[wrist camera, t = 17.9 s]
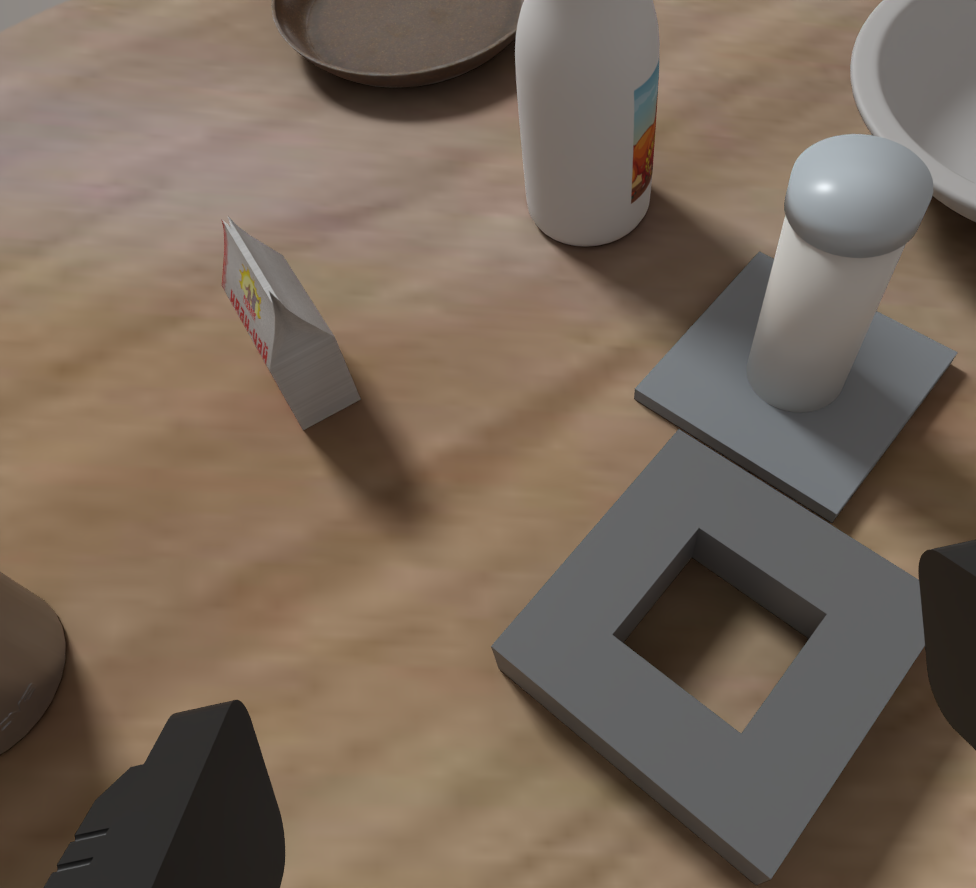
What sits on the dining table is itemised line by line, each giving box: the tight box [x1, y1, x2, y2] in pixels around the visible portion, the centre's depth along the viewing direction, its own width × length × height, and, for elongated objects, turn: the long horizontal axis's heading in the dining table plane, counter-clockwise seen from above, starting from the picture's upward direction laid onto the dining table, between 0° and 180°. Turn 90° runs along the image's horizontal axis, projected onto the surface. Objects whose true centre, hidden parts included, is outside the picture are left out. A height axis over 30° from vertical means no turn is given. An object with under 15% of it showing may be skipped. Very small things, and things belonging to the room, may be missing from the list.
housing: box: [491, 429, 925, 885], centre depth 39 cm, size 14×14×4 cm
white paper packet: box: [222, 217, 361, 430], centre depth 47 cm, size 4×7×10 cm, turn 31°
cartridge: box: [747, 134, 933, 413], centre depth 41 cm, size 5×5×14 cm
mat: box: [634, 252, 958, 523], centre depth 47 cm, size 12×12×1 cm
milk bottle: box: [515, 0, 660, 247], centre depth 47 cm, size 8×8×20 cm
